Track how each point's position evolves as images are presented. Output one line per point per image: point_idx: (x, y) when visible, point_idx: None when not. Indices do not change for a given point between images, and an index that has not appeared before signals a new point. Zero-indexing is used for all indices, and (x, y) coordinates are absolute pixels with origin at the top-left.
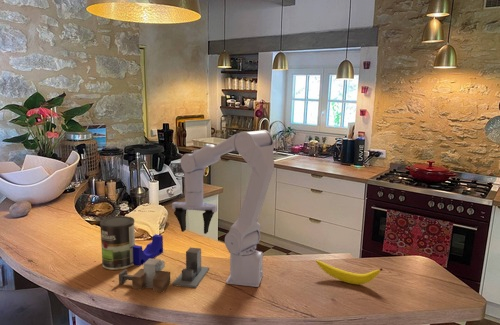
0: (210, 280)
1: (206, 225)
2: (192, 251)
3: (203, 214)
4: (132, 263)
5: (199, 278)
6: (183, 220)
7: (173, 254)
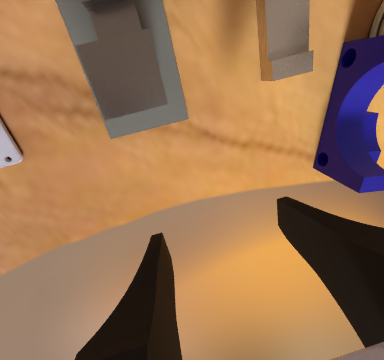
0: (43, 58)
1: (139, 271)
2: (118, 55)
3: (136, 357)
4: (375, 35)
5: (78, 36)
6: (321, 249)
7: (277, 170)
